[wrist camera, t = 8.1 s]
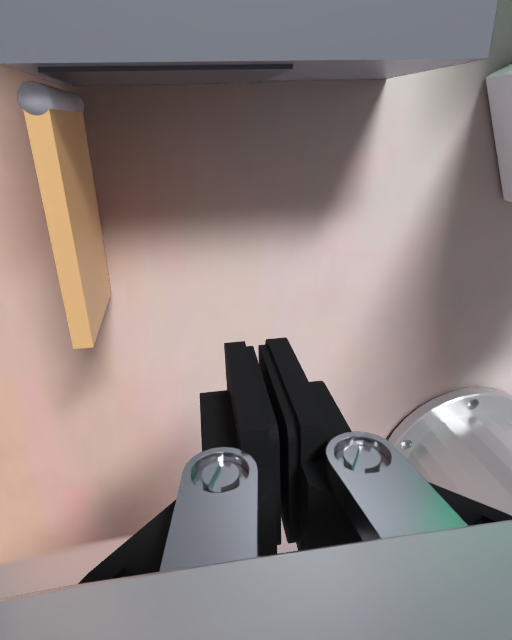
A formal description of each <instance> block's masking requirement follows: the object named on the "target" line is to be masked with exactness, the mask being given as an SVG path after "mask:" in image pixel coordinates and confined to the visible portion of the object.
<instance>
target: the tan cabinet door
mask: <svg viewBox="0 0 512 640" xmlns="http://www.w3.org/2000/svg"><path fill="white" fill-rule="evenodd" d="M17 98H18V102H19V104H20V106H21V107H22V108H23V111H24V116H25V121H26V125H27V130H28V135H29V140H30V145H31V149H32V154H33V159H34V164H35V169H36V173H37V178H38V183H39V188H40V192H41V197H42V202H43V207H44V212H45V216H46V221H47V226H48V231H49V236H50V240H51V245H52V250H53V255H54V260H55V264H56V269H57V274H58V279H59V284H60V288H61V293H62V298H63V303H64V308H65V312H66V317H67V322H68V327H69V332H70V336H71V341H72V346H73V349H81V348H92V347H94V344H95V341H96V338H97V335H98V332H99V329H100V326H101V323H102V320H103V317H104V314H105V311H106V308H107V305H108V302H109V299H110V296H111V287H110V280H109V274H108V268H107V261H106V255H105V249H104V243H103V236H102V230H101V224H100V217H99V211H98V205H97V198H96V192H95V186H94V180H93V173H92V167H91V161H90V154H89V148H88V142H87V135H86V129H85V123H84V117H83V111H84V103H83V101H82V99H81V98H80V97H79V96H78V95H76V94H73V93H70V92H67V91H63V90H60V89H57V88H53V87H50V86H47V85H44V84H40V83H37V82H33V81H28V82H25V83H23V84H22V85H21V86H20V87H19V89H18V93H17Z"/></svg>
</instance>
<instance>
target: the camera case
mask: <svg viewBox="0 0 512 640" xmlns="http://www.w3.org/2000/svg"><path fill="white" fill-rule="evenodd" d="M497 3H498V0H0V64H3V65H6V66H8V67H11V68H14V69H17V70H20V71H23V72H26V73H28V74H31V75H34V76H37V77H40V78H43V79H46V80H49V81H51V82H54V83H57V84H70V85H73V86H106V85H162V84H218V83H261V82H264V81H280V80H339V79H388V78H393V77H398V76H403V75H408V74H413V73H418V72H423V71H428V70H433V69H438V68H443V67H448V66H453V65H458V64H463V63H468V62H473V61H478V60H483V59H488V58H489V52H490V46H491V40H492V34H493V28H494V22H495V15H496V9H497Z"/></svg>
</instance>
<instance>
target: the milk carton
mask: <svg viewBox="0 0 512 640" xmlns="http://www.w3.org/2000/svg"><path fill="white" fill-rule="evenodd" d="M486 84H487V91H488V97H489V104H490V111H491V118H492V124H493V131H494V138H495V144H496V151H497V158H498V164H499V171H500V178H501V184H502V191H503V197H504V200H505V201H509V202H512V64H510V65H508V66H506V67H504V68H502V69H500V70H497V71H495V72H493V73H491V74H490V75H488V76H487V77H486Z"/></svg>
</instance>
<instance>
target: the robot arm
mask: <svg viewBox="0 0 512 640" xmlns="http://www.w3.org/2000/svg"><path fill="white" fill-rule="evenodd" d="M224 349H225V364H226V379H227V390H226V391H216V392H207V393H200V412H201V437H202V452H201V453H199V454H197V455H196V456H194V457H193V458H192V459H191V460H190V461H189V462H188V463H187V464H186V466H185V468H184V470H183V473H182V478H181V482H180V486H179V490H178V495H177V499H176V500H175V501H174V502H173V503H171V504H170V505H169V506H168V507H167V508H165V509H164V510H163V511H162V512H161V513H159V514H158V515H157V516H156V517H155V518H154V519H152V520H151V521H150V522H149V523H148V524H146V525H145V526H144V527H143V528H142V529H140V530H139V531H138V532H137V533H136V534H134V535H133V536H132V537H131V538H130V539H129V540H127V541H126V542H125V543H124V544H123V545H121V546H120V547H119V548H118V549H117V550H115V551H114V552H113V553H112V554H111V555H110V556H108V557H107V558H106V559H105V560H104V561H102V562H101V563H100V564H99V565H98V566H96V567H95V568H94V569H93V570H92V571H90V572H89V573H88V574H87V575H86V576H85V577H84V578H83V579H82V580H81V581H80V582H79V583H78V584H76V585H70V586H65V587H59V588H54V589H48V590H43V591H38V592H32V593H27V594H21V595H16V596H11V597H6V598H1V599H0V640H512V397H511V396H509V395H508V394H506V393H505V392H502V391H499V390H496V389H493V388H483V387H474V388H463V389H460V390H456V391H452V392H448V393H446V394H443V395H441V396H439V397H436V398H434V399H432V400H430V401H429V402H427V403H425V404H424V405H422V406H420V407H419V408H417V409H416V410H415V411H414V412H413V413H411V414H410V415H409V416H408V417H406V418H405V419H404V420H403V422H402V423H401V424H400V425H399V426H398V427H397V428H396V429H395V430H394V432H393V433H392V435H391V436H390V438H389V439H388V441H387V440H386V439H384V438H382V437H380V436H378V435H374V434H371V433H367V432H352V431H351V430H350V428H349V426H348V424H347V422H346V421H345V419H344V417H343V415H342V414H341V412H340V410H339V408H338V406H337V405H336V403H335V401H334V399H333V397H332V396H331V394H330V392H329V390H328V389H327V387H326V385H325V383H324V382H323V381H314V382H309V381H308V379H307V377H306V375H305V373H304V371H303V369H302V367H301V365H300V363H299V361H298V359H297V357H296V355H295V353H294V351H293V349H292V347H291V345H290V343H289V341H288V339H287V338H276V339H266V343H265V345H259V363H258V360H257V357H256V354H255V351H254V347H253V346H246V344H245V341H243V342H231V343H224ZM281 518H282V522H283V526H284V530H285V534H286V538H287V541H288V543H295V542H296V544H297V548H298V551H293V552H286V553H279V554H277V545H280V544H281Z"/></svg>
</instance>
